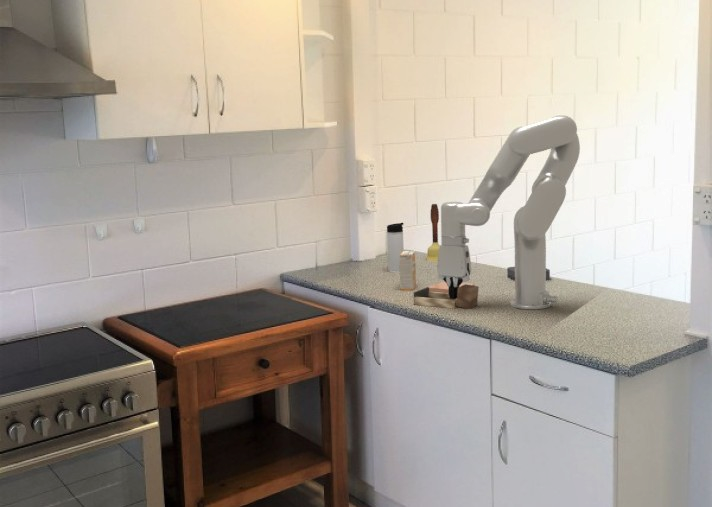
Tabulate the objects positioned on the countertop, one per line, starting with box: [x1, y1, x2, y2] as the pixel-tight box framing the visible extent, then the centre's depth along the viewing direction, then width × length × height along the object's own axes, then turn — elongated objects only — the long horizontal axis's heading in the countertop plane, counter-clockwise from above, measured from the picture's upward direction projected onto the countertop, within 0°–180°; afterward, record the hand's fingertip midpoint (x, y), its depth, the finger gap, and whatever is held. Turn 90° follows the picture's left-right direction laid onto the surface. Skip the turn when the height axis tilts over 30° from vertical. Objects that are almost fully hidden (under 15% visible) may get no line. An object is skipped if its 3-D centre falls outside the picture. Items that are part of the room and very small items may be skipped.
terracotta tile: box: [428, 280, 476, 293], centre depth 277 cm, size 12×12×2 cm
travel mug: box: [386, 222, 405, 273], centre depth 312 cm, size 6×7×20 cm
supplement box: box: [399, 250, 417, 291], centre depth 283 cm, size 8×5×13 cm, turn 168°
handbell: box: [425, 203, 441, 261], centre depth 330 cm, size 12×12×25 cm
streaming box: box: [506, 266, 551, 282], centre depth 290 cm, size 13×13×4 cm
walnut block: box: [455, 284, 480, 310], centre depth 253 cm, size 4×6×6 cm
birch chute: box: [413, 286, 457, 309], centre depth 258 cm, size 15×9×4 cm, turn 56°
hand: (454, 298), depth 255 cm, fingers closed
